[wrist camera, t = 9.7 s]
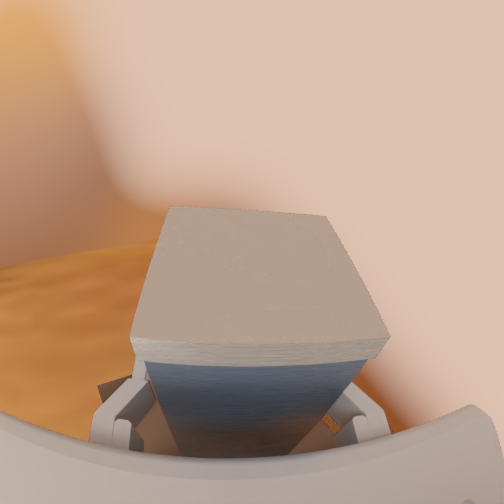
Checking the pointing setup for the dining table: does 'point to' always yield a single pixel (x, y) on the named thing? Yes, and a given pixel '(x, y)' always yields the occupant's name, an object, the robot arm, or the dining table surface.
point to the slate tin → (251, 328)
